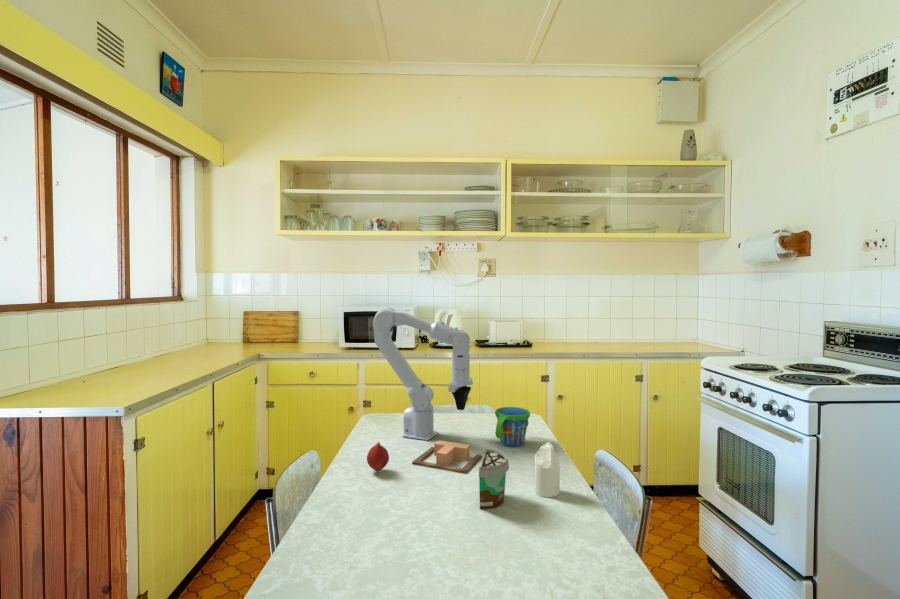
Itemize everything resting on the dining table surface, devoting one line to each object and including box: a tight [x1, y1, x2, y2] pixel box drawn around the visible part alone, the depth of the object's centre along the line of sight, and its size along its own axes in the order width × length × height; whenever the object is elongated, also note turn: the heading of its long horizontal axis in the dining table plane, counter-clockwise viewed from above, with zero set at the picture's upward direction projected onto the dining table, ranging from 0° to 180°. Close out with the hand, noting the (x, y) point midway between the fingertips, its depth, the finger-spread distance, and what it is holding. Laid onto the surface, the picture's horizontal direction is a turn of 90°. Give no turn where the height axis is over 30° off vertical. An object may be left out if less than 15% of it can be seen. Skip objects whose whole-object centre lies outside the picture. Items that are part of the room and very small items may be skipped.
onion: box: [366, 441, 390, 473], centre depth 124 cm, size 6×6×8 cm
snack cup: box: [494, 406, 531, 447], centre depth 145 cm, size 16×10×10 cm
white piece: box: [534, 441, 561, 498], centre depth 112 cm, size 6×12×6 cm
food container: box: [478, 448, 510, 510], centre depth 108 cm, size 12×6×10 cm, turn 168°
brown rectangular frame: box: [411, 446, 483, 475], centre depth 132 cm, size 16×12×1 cm
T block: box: [433, 440, 471, 466], centre depth 132 cm, size 9×10×4 cm
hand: (460, 409), depth 151 cm, fingers closed
